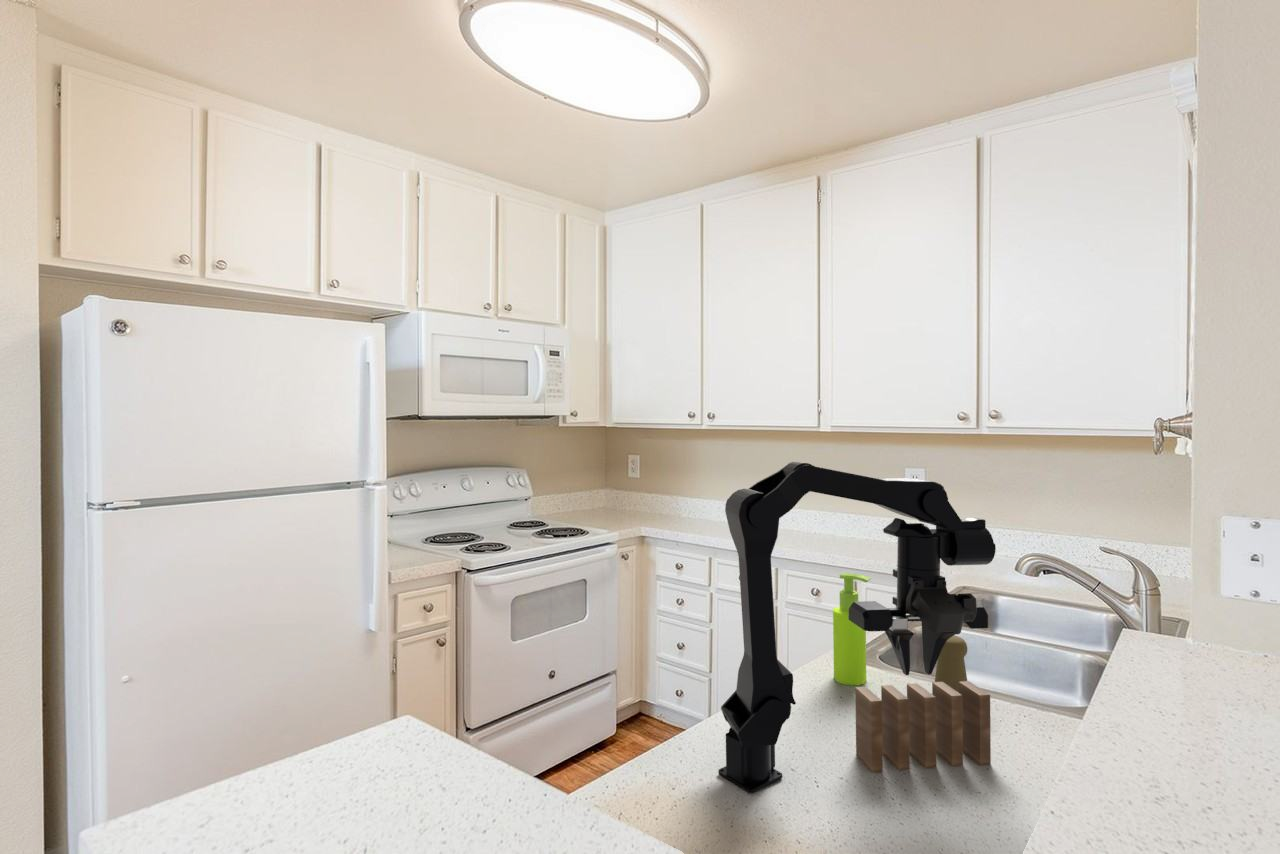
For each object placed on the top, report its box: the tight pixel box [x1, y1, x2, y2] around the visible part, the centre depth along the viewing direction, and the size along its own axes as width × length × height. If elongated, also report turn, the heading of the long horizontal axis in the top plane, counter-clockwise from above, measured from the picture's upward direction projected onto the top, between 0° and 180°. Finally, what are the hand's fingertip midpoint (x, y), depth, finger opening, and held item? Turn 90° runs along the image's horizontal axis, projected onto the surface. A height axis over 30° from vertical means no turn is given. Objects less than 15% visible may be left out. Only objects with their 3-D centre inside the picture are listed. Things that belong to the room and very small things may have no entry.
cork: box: [934, 635, 968, 693], centre depth 117 cm, size 6×6×11 cm
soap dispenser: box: [832, 572, 872, 686], centre depth 126 cm, size 6×7×20 cm
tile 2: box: [880, 684, 911, 771], centre depth 96 cm, size 2×5×10 cm, turn 7°
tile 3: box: [906, 682, 938, 769], centre depth 97 cm, size 2×5×10 cm, turn 6°
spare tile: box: [959, 680, 992, 766], centre depth 97 cm, size 2×5×10 cm, turn 7°
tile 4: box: [931, 681, 964, 767], centre depth 97 cm, size 2×5×10 cm, turn 6°
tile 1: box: [854, 686, 884, 773], centre depth 96 cm, size 2×5×10 cm, turn 7°
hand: (917, 673), depth 97 cm, fingers open, 3 cm apart
